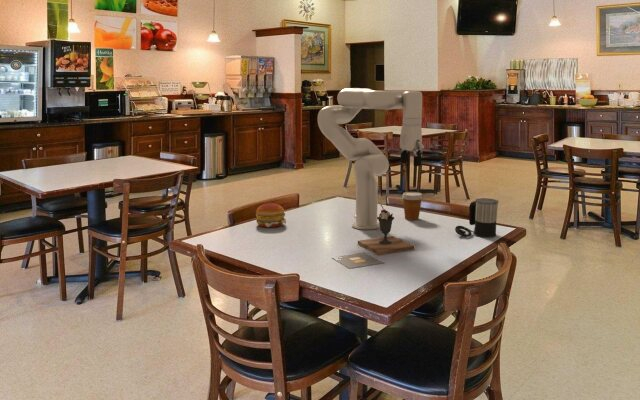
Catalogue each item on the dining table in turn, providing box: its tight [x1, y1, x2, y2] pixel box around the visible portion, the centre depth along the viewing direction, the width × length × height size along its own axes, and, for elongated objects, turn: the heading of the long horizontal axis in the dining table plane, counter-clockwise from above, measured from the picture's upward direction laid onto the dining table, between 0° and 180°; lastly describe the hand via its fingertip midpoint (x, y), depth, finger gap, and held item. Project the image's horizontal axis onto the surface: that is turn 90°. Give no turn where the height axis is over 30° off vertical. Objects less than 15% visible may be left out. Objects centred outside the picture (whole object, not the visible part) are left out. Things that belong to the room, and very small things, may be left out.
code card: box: [336, 251, 385, 269], centre depth 208 cm, size 14×14×1 cm
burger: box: [255, 202, 287, 228], centre depth 259 cm, size 13×14×10 cm
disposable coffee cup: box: [401, 191, 423, 221], centre depth 268 cm, size 10×10×12 cm
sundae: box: [377, 204, 395, 244], centre depth 224 cm, size 7×7×15 cm
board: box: [357, 235, 415, 256], centre depth 225 cm, size 16×16×2 cm
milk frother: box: [454, 197, 500, 238], centre depth 239 cm, size 14×16×15 cm
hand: (410, 164), depth 235 cm, fingers open, 9 cm apart
